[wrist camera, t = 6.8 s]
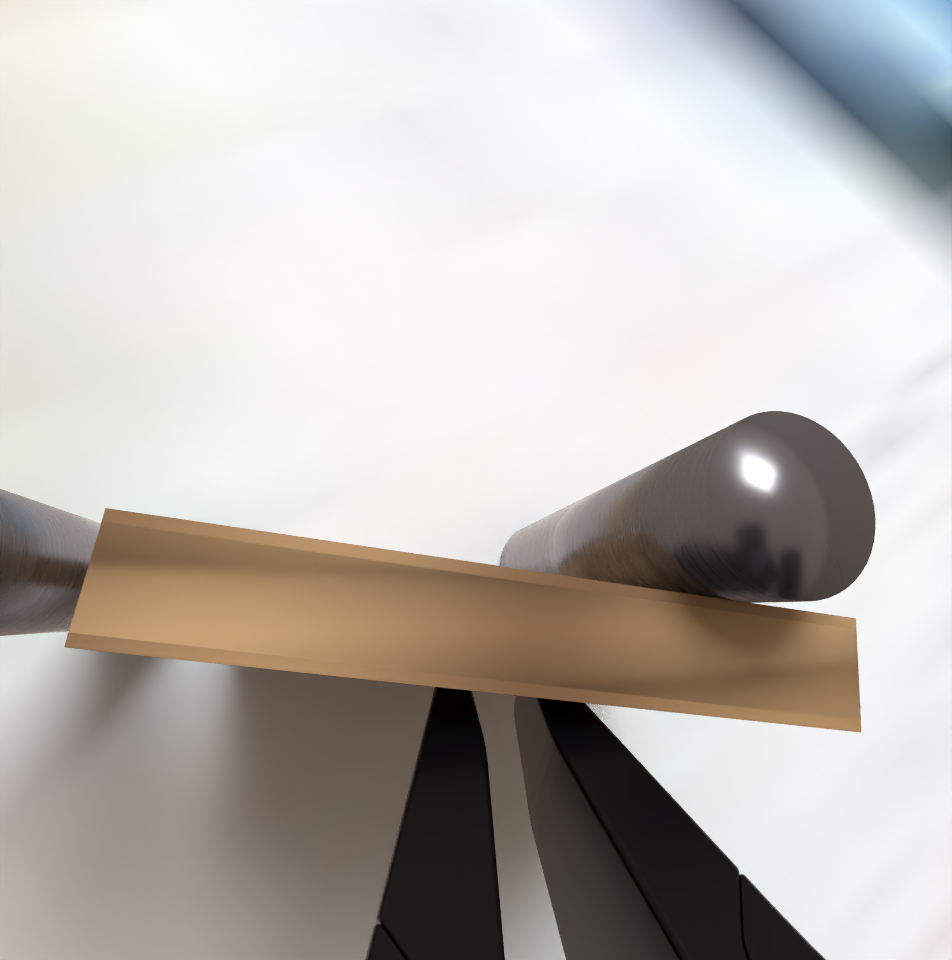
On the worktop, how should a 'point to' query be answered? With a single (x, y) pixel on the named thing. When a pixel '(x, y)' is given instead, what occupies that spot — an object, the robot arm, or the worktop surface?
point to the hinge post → (41, 565)
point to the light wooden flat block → (456, 625)
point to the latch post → (720, 519)
